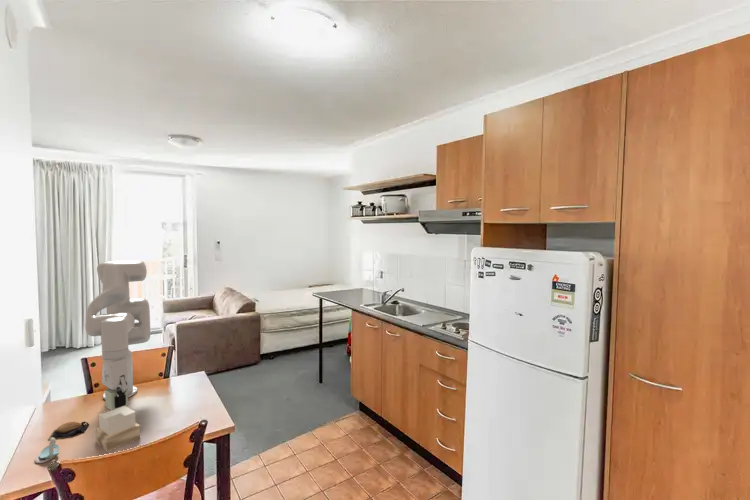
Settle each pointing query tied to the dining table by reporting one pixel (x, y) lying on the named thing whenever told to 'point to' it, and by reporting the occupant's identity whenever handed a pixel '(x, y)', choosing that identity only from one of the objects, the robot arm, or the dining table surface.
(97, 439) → the tower base
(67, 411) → the dining table surface
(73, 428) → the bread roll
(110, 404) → the sage block
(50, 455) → the pacifier
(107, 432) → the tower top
